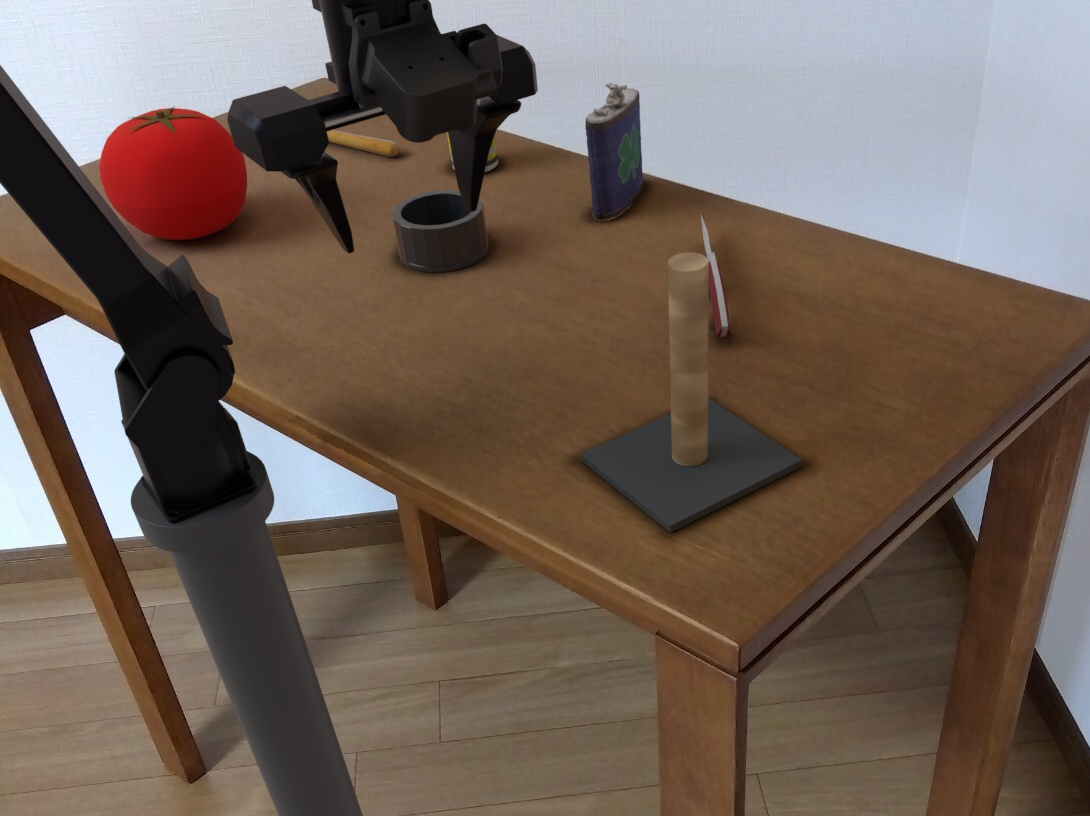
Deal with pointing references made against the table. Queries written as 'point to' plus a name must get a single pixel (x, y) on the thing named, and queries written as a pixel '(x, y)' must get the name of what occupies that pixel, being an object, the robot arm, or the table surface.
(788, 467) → the mat
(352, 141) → the fork
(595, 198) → the flask
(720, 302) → the knife
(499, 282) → the table surface
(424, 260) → the cup
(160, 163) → the tomato
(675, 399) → the muddler
